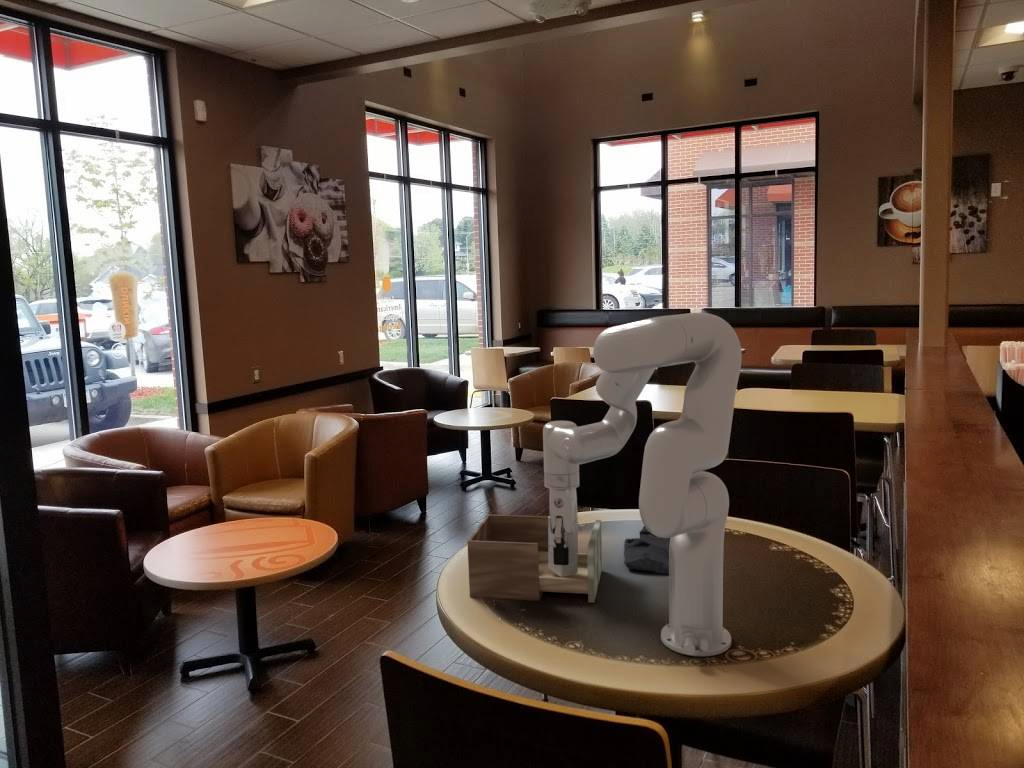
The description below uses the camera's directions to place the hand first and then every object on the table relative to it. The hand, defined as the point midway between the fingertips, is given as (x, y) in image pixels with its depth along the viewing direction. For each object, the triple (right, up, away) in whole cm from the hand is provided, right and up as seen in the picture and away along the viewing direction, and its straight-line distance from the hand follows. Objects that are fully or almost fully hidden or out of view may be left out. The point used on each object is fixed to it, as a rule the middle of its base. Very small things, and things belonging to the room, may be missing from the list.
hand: (563, 557), depth 166 cm
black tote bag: (+22, -4, +16) cm, 28 cm away
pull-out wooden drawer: (0, -6, +1) cm, 6 cm away
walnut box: (-11, -6, +3) cm, 13 cm away
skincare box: (0, -3, 0) cm, 3 cm away
